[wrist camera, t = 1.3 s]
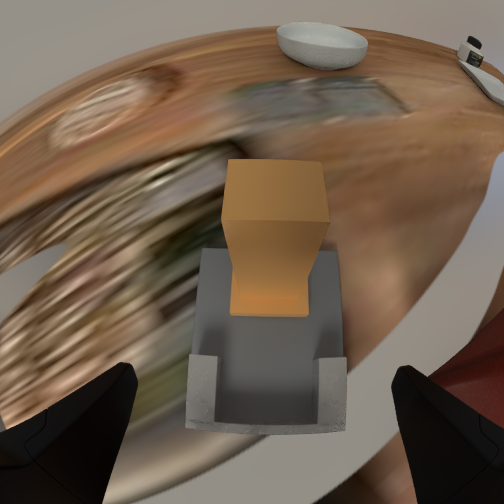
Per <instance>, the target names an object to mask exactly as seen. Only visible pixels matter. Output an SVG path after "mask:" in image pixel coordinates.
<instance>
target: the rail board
mask: <svg viewBox="0 0 504 504" xmlns="http://www.w3.org/2000/svg"><path fill="white" fill-rule="evenodd" d="M232 271H233V266H232V262H231V258H230V254H229V250H228V249H219V248H202V256H201V264H200V272H199V281H198V290H197V299H196V309H195V319H194V330H193V341H192V354H195V355H207V356H218V357H220V358H222V376H221V396H220V418H233V419H251V420H306V419H311V417H312V385H313V360H316V359H318V358H337V357H343V327H342V306H341V291H340V278H339V266H338V256H337V251H319V252H318V254H317V257H316V259H315V262H314V264H313V266H312V269H311V271H310V274H309V276H308V303H309V315H308V316H307V317H259V316H231V314H230V300H231V285H232Z"/></svg>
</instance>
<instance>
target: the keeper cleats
mask: <svg viewBox="0 0 504 504" xmlns="http://www.w3.org/2000/svg"><path fill="white" fill-rule="evenodd" d="M221 376H222V358H220V357H218V356H207V355H195V354H189V368H188V383H187V400H186V422H185V428H190V429H198V430H206V431H215V432H226V433H240V434H264V435H283V434H284V435H288V434H313V433H328V432H338V431H345V424H346V422H345V421H346V392H347V390H346V389H347V357H337V358H318V359H316V360H313V385H312V417H311V419H306V420H251V419H233V418H220V396H221Z"/></svg>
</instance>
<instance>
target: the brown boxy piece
mask: <svg viewBox="0 0 504 504" xmlns="http://www.w3.org/2000/svg"><path fill="white" fill-rule="evenodd" d="M221 221H222V225H223V229H224V234H225V238H226V242H227V246H228V250H229V254H230V258H231V262H232V266H233V271H232V285H231V300H230V314H231V316H259V317H307V316H308V315H309V303H308V276H309V274H310V271H311V269H312V266H313V264H314V262H315V259H316V257H317V254H318V252H319V249H320V247H321V244H322V242H323V239H324V237H325V234H326V231H327V229H328V226H329V224H330V217H329V209H328V202H327V194H326V187H325V181H324V174H323V168H322V162H321V161H303V160H276V159H229V160H228V168H227V175H226V183H225V191H224V200H223V208H222V217H221Z"/></svg>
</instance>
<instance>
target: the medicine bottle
mask: <svg viewBox="0 0 504 504" xmlns="http://www.w3.org/2000/svg"><path fill="white" fill-rule="evenodd" d="M482 46H483V44H482V43H481V42H480V41H479V40H477V39H476V38H474V37H472V36H469V37H468V40H467V44H465V43H463V42H462V43H461V46H460V48H459V51H458V54H457V56H458V57H459V58H460V59H461V60H462V61H463V62H466V63H468V64H470V65H472V66H474V67H476V68H478V69H479V68H480V65H481V63H482V60H483V58H484V56H483V55H481V53H479V52H480V51H481V49H482Z"/></svg>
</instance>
